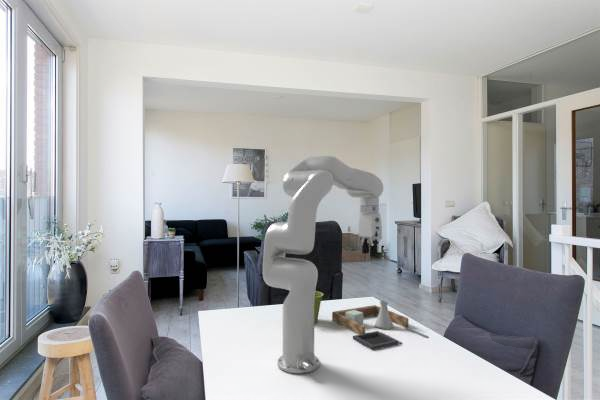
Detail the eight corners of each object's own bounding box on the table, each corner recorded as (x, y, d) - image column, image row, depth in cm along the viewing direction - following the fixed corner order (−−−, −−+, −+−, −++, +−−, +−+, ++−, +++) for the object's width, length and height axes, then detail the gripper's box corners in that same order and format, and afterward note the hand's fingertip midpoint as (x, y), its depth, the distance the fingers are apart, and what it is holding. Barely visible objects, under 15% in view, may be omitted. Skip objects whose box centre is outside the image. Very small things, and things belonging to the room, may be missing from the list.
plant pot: (324, 326, 147) (324, 297, 147) (293, 326, 147) (293, 297, 147) (322, 316, 158) (322, 290, 158) (294, 316, 159) (294, 290, 159)
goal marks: (428, 337, 135) (428, 336, 135) (399, 344, 129) (399, 342, 129) (406, 328, 144) (406, 327, 144) (379, 333, 138) (379, 332, 138)
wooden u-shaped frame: (408, 327, 145) (408, 318, 145) (362, 336, 135) (362, 327, 135) (375, 313, 164) (375, 305, 164) (332, 320, 154) (332, 311, 154)
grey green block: (363, 325, 148) (363, 312, 148) (354, 328, 145) (354, 315, 145) (354, 322, 152) (354, 309, 152) (345, 324, 149) (345, 312, 149)
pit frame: (398, 344, 128) (398, 340, 128) (372, 350, 123) (372, 346, 123) (377, 334, 138) (377, 330, 138) (352, 339, 133) (352, 335, 133)
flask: (388, 331, 141) (388, 304, 141) (371, 327, 146) (371, 301, 146) (396, 326, 147) (396, 300, 147) (379, 322, 151) (379, 297, 151)
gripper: (390, 210, 148) (390, 256, 148) (364, 209, 164) (364, 251, 164) (375, 210, 145) (375, 257, 145) (350, 209, 160) (350, 252, 160)
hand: (369, 253), depth 154 cm, fingers open, 4 cm apart
